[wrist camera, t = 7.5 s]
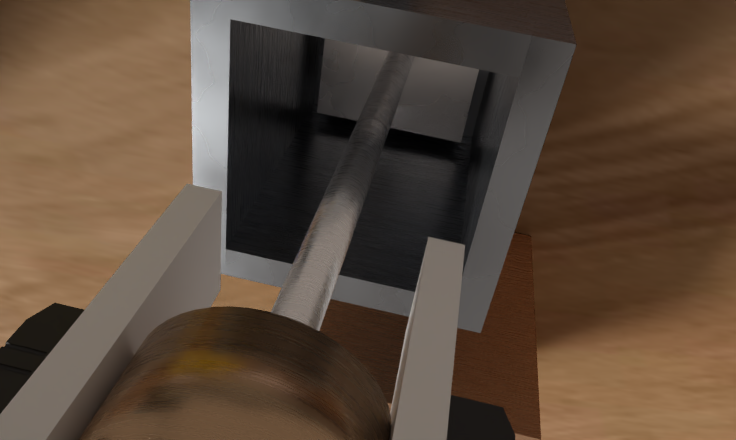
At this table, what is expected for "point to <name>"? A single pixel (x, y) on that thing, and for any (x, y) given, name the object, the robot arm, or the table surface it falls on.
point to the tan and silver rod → (291, 291)
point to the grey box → (401, 149)
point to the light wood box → (463, 345)
